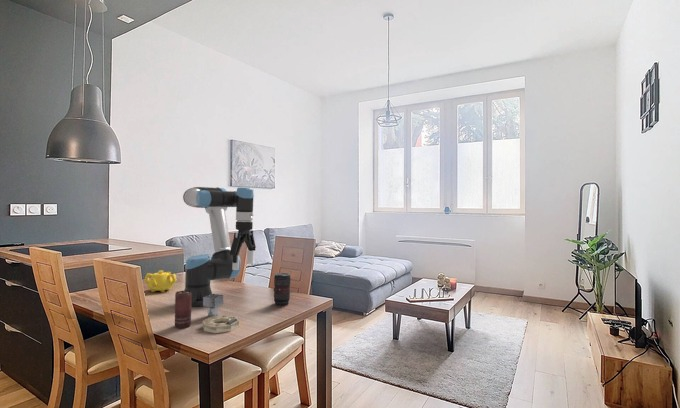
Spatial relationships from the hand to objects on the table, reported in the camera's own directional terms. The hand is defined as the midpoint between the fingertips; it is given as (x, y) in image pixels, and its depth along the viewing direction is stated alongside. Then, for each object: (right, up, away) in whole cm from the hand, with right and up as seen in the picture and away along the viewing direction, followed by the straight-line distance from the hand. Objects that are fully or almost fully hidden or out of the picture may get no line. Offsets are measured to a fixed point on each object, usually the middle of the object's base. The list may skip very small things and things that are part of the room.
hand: (242, 267), depth 166 cm
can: (-19, -21, -19) cm, 34 cm away
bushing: (-12, -21, -6) cm, 25 cm away
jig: (-4, -21, -19) cm, 29 cm away
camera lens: (+16, -21, +15) cm, 30 cm away
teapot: (-56, -20, +35) cm, 69 cm away
